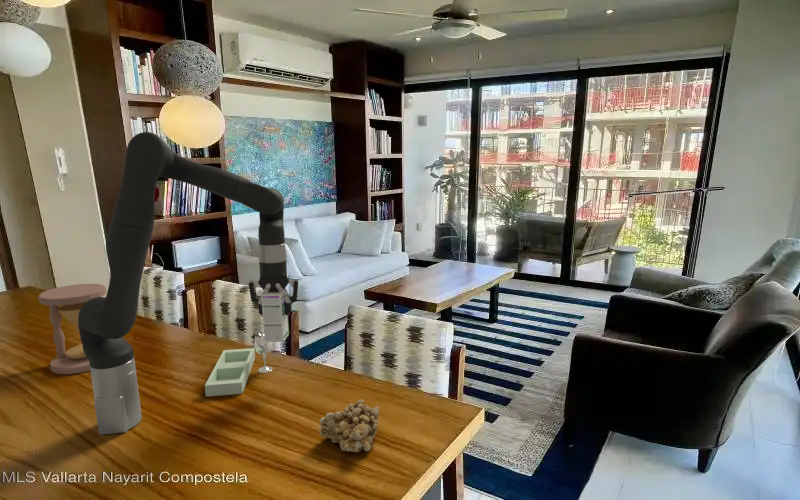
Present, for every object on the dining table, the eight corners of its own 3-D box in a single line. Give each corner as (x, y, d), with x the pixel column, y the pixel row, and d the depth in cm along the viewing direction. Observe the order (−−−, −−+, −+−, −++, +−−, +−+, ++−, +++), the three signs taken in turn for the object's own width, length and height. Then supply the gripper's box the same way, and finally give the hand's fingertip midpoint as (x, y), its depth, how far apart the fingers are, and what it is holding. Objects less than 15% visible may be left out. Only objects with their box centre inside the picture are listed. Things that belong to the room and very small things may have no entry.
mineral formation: (313, 440, 104) (357, 409, 115) (352, 472, 96) (396, 436, 107) (314, 413, 101) (359, 385, 112) (354, 444, 93) (398, 410, 104)
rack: (242, 393, 125) (241, 382, 124) (205, 396, 123) (204, 385, 123) (255, 357, 148) (254, 348, 147) (224, 359, 146) (223, 350, 146)
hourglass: (127, 352, 152) (118, 284, 147) (87, 376, 135) (75, 299, 130) (81, 350, 154) (70, 282, 149) (36, 373, 137) (22, 297, 132)
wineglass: (277, 366, 142) (275, 331, 140) (270, 374, 136) (268, 338, 134) (260, 365, 143) (258, 331, 140) (253, 373, 137) (250, 338, 135)
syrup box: (283, 342, 124) (281, 293, 122) (263, 341, 124) (260, 293, 122) (289, 334, 130) (287, 288, 127) (269, 334, 130) (267, 287, 127)
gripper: (243, 262, 118) (247, 320, 121) (297, 261, 120) (299, 318, 123) (248, 257, 125) (252, 312, 128) (299, 255, 128) (301, 309, 131)
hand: (275, 314), depth 126 cm, fingers closed on syrup box, 6 cm apart
